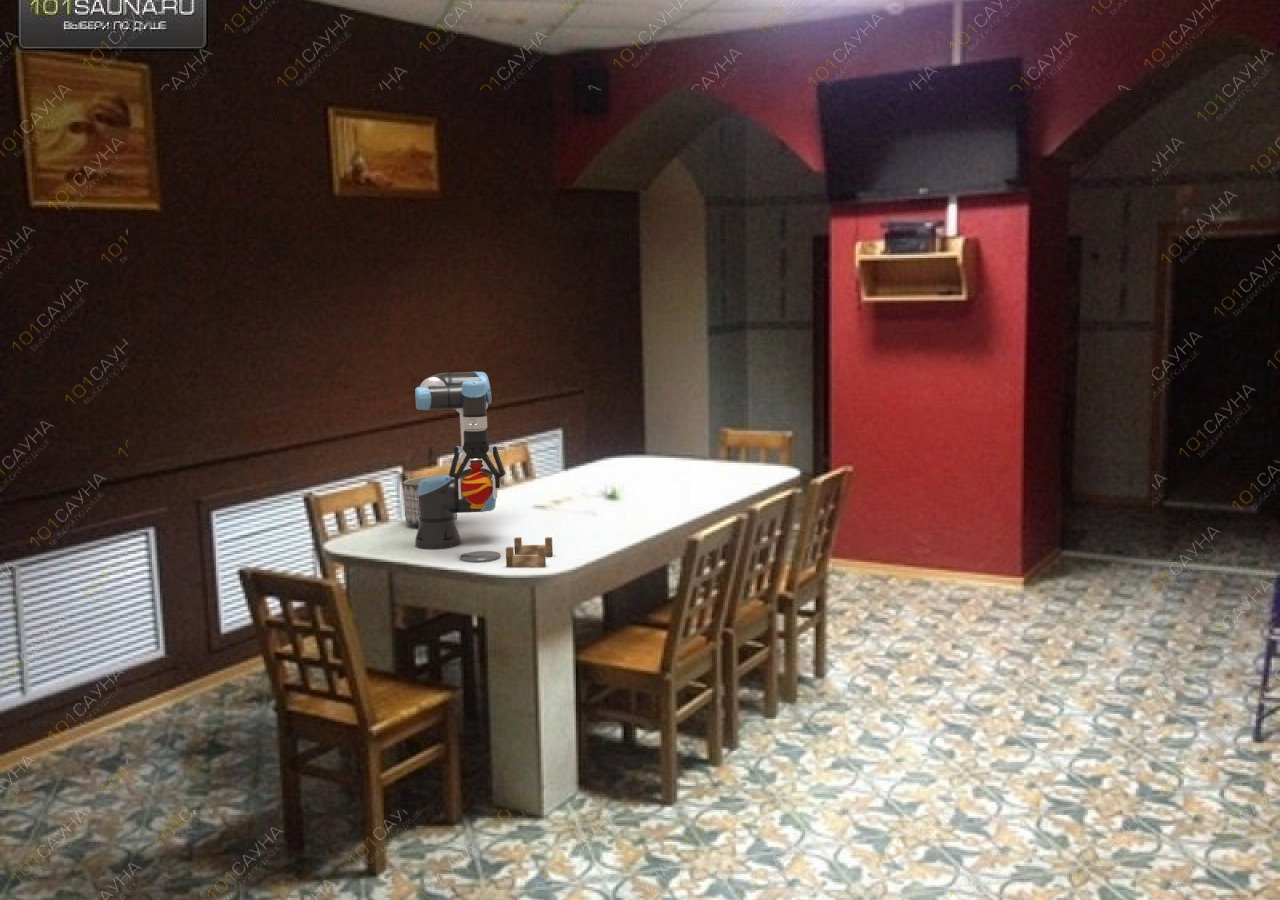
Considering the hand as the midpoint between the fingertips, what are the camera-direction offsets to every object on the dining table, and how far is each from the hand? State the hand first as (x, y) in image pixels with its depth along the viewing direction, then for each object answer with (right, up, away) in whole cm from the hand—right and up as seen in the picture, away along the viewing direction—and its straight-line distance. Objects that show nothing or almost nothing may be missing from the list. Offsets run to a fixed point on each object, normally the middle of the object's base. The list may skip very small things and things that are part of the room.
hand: (478, 498), depth 373 cm
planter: (-25, -12, +58) cm, 65 cm away
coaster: (0, -19, +3) cm, 19 cm away
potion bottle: (0, -3, 0) cm, 3 cm away
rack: (+17, -20, -4) cm, 26 cm away
